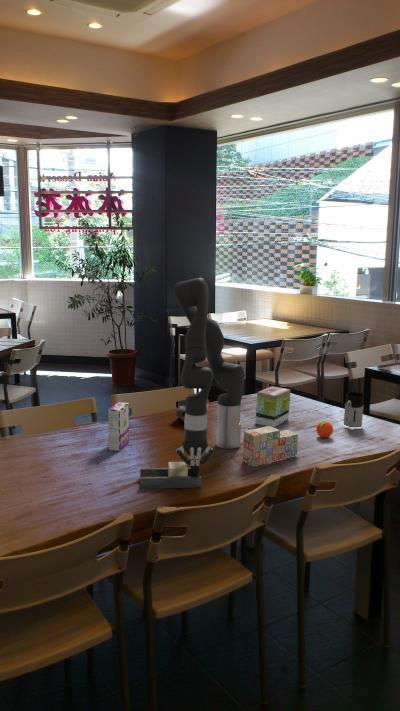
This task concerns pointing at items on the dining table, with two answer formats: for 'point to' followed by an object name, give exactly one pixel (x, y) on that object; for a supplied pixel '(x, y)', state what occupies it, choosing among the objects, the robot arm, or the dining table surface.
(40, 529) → the dining table surface
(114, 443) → the candy bar box
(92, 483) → the dining table surface
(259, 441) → the stack of blocks
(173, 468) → the birch block
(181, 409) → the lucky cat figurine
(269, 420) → the tea box
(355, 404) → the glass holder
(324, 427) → the clementine
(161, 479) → the chute
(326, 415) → the dining table surface
